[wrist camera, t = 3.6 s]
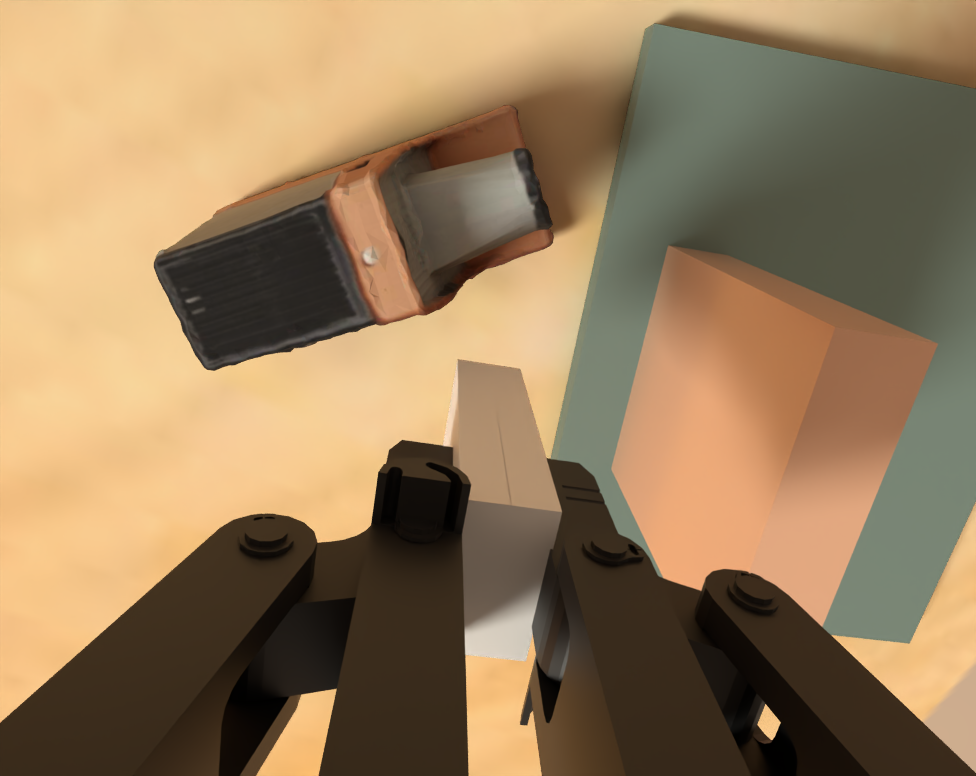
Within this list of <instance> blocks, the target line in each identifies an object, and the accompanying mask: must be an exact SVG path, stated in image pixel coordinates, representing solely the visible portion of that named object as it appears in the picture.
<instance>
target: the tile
mask: <svg viewBox="0 0 976 776" xmlns="http://www.w3.org/2000/svg"><path fill="white" fill-rule="evenodd" d="M937 345H938V343H936V342H933V341H931V340H928V339H926V338H924V337H921V336H919V335H917V334H914V333H912V332H909V331H907V330H905V329H902V328H900V327H898V326H895V325H893V324H890V323H888V322H886V321H883V320H881V319H879V318H876V317H874V316H871V315H869V314H867V313H864V312H862V311H859V310H857V309H855V308H852V307H850V306H848V305H845V304H843V303H840V302H838V301H836V300H833V299H831V298H829V297H826V296H824V295H821V294H819V293H817V292H814V291H812V290H810V289H807V288H805V287H802V286H800V285H798V284H795V283H793V282H791V281H788V280H786V279H783V278H781V277H779V276H776V275H774V274H771V273H769V272H767V271H764V270H762V269H760V268H757V267H755V266H752V265H750V264H748V263H745V262H743V261H741V260H738V259H736V258H733V257H731V256H729V255H724V254H718V253H712V252H706V251H700V250H694V249H688V248H682V247H676V246H670V245H668V248H667V252H666V256H665V260H664V264H663V268H662V272H661V276H660V280H659V283H658V287H657V291H656V295H655V299H654V303H653V307H652V311H651V315H650V319H649V323H648V327H647V330H646V334H645V338H644V342H643V346H642V350H641V354H640V358H639V362H638V366H637V370H636V373H635V377H634V381H633V385H632V389H631V393H630V397H629V401H628V405H627V409H626V413H625V417H624V420H623V424H622V428H621V432H620V436H619V440H618V444H617V448H616V452H615V456H614V460H613V464H612V467H611V470H612V472H613V474H614V476H615V478H616V480H617V482H618V484H619V486H620V489H621V491H622V493H623V495H624V497H625V499H626V501H627V503H628V505H629V507H630V509H631V512H632V514H633V516H634V518H635V520H636V522H637V524H638V526H639V528H640V530H641V532H642V535H643V537H644V539H645V541H646V543H647V545H648V547H649V549H650V551H651V553H652V555H653V558H654V560H655V562H656V564H657V566H658V568H659V570H660V572H661V574H662V576H663V578H664V579H667V580H670V581H672V582H675V583H679V584H682V585H685V586H688V587H691V588H694V589H697V590H700V591H701V590H702V587H703V584H704V581H705V578H706V577H707V576H708V575H709V574H710V573H711V572H712V571H716V570H721V569H732V570H743V571H747V572H749V573H754V574H756V575H759V576H761V577H762V578H763V579H765V580H767V581H769V582H771V583H773V584H775V585H776V586H777V587H779V588H780V589H781V590H783V591H784V592H785V593H787V594H788V595H789V596H790V597H791V598H792V599H793V600H794V601H795V602H797V603H798V604H799V605H800V606H801V607H802V608H803V609H804V610H805V611H806V612H807V613H808V614H809V615H810V616H811V617H812V618H813V619H814V620H815V621H816V622H818V623H819V624H820V625H821V626H822V627H823V624H824V622H825V619H826V617H827V614H828V612H829V609H830V607H831V604H832V602H833V600H834V597H835V595H836V592H837V590H838V587H839V585H840V582H841V580H842V578H843V575H844V573H845V570H846V568H847V565H848V563H849V560H850V558H851V556H852V553H853V551H854V548H855V546H856V543H857V541H858V538H859V536H860V534H861V531H862V529H863V526H864V524H865V521H866V519H867V516H868V514H869V512H870V509H871V507H872V504H873V502H874V499H875V497H876V494H877V492H878V490H879V487H880V485H881V482H882V480H883V477H884V475H885V472H886V470H887V468H888V465H889V463H890V460H891V458H892V455H893V453H894V450H895V448H896V446H897V443H898V441H899V438H900V436H901V433H902V431H903V428H904V426H905V423H906V421H907V419H908V416H909V414H910V411H911V409H912V406H913V404H914V401H915V399H916V397H917V394H918V392H919V389H920V387H921V384H922V382H923V379H924V377H925V375H926V372H927V370H928V367H929V365H930V362H931V360H932V357H933V355H934V353H935V350H936V348H937Z"/></svg>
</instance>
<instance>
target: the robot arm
mask: <svg viewBox="0 0 976 776" xmlns="http://www.w3.org/2000/svg"><path fill="white" fill-rule="evenodd" d="M532 634H533V638H534V644H535V651H536V657H535V661H534V665H533V669H532V673H531V677H530V681H529V685H528V689H527V693H526V697H525V701H524V705H523V709H522V714H521V721H520V725H527V724H528V720H529V716H530V713H531V712H532V711H533V713H534V721H535V728H536V735H537V743H538V750H539V757H540V765H541V772H542V776H976V773H975V772H974V771H973V770H972V769H971V768H970V767H969V766H968V765H967V764H966V763H965V762H964V761H962V760H961V759H960V758H959V757H958V756H957V755H956V754H955V753H954V752H953V751H952V750H951V749H950V748H949V747H948V746H947V745H946V744H945V743H943V741H942V740H940V739H939V738H938V737H937V736H936V735H935V734H934V733H933V732H932V731H931V730H930V729H929V728H928V727H927V726H926V725H925V724H924V723H923V722H922V721H921V720H920V719H918V718H917V717H916V716H915V715H914V714H913V713H912V712H911V711H910V710H909V709H908V708H907V707H906V706H905V705H904V704H903V703H902V702H901V701H900V700H898V699H897V698H896V697H895V696H894V695H893V694H892V693H891V692H890V691H889V690H888V689H887V688H886V687H885V686H884V685H883V684H882V683H881V682H880V681H879V680H877V679H876V678H875V677H874V676H873V675H872V674H871V673H870V672H869V671H868V670H867V669H866V668H865V667H864V666H863V665H862V664H861V663H860V662H859V661H857V660H856V659H855V658H854V657H853V656H852V655H851V654H850V653H849V652H848V651H847V650H846V649H845V648H844V647H843V646H842V645H841V644H840V643H839V642H838V641H836V640H835V639H834V638H833V637H832V636H831V635H830V634H829V633H828V632H827V631H826V630H825V629H824V628H823V627H822V626H821V625H820V624H819V623H818V622H816V621H815V620H814V619H813V618H812V617H811V616H810V615H809V614H808V613H807V612H806V611H805V610H804V609H803V608H802V607H801V606H800V605H799V604H798V603H797V602H795V601H794V600H793V599H792V598H791V597H790V596H789V595H788V594H787V593H785V592H784V591H783V590H781V589H780V588H779V587H777V586H776V585H775V584H773V583H771V582H769V581H767V580H765V579H763V578H762V577H761V576H759V575H756V574H754V573H749V572H747V571H743V570H732V569H721V570H716V571H712V572H711V573H710V574H709V575H708V576H707V577H706V578H705V581H704V584H703V587H702V590H701V591H700V590H697V589H694V588H691V587H688V586H685V585H682V584H679V583H675V582H672V581H670V580H667V579H664V578H662V577H659V576H658V575H657V572H656V570H655V568H654V566H653V564H652V562H651V560H650V557H649V556H648V555H647V554H646V552H645V551H644V550H643V548H642V547H640V546H639V545H638V544H636V543H635V542H633V541H632V540H631V539H629V538H627V537H624V536H622V535H620V534H618V532H617V529H616V527H615V524H614V522H613V520H612V517H611V515H610V513H609V510H608V508H607V505H605V501H604V498H603V496H602V494H601V493H600V489H599V486H598V484H597V482H596V479H595V477H594V476H593V475H592V474H591V473H590V472H589V471H588V470H587V469H585V468H584V467H583V466H582V465H581V464H580V463H576V462H569V461H562V460H555V459H548V458H546V455H545V452H544V448H543V445H542V442H541V438H540V435H539V431H538V428H537V425H536V421H535V418H534V414H533V411H532V408H531V404H530V401H529V397H528V394H527V390H526V387H525V384H524V380H523V377H522V373H521V370H520V369H518V368H511V367H505V366H498V365H492V364H485V363H479V362H472V361H466V360H459V359H458V360H457V366H456V372H455V378H454V383H453V389H452V395H451V401H450V407H449V413H448V419H447V425H446V431H445V437H444V443H443V446H441V445H434V444H427V443H420V442H412V441H405V440H402V441H400V442H399V443H398V444H396V445H395V446H394V447H393V448H391V449H390V450H389V453H388V458H387V463H386V464H384V465H383V466H382V468H381V469H380V471H379V472H378V479H377V487H376V494H375V501H374V509H373V516H372V523H371V526H370V527H369V528H368V529H367V530H366V531H364V532H363V533H361V534H359V535H357V536H355V537H352V538H348V539H345V540H340V541H333V542H322V543H317V539H316V536H315V533H314V531H313V530H312V529H311V528H310V527H308V526H307V525H306V524H305V523H304V522H301V521H299V520H296V519H294V518H291V517H289V516H282V515H276V514H255V515H249V516H246V517H242V518H238V519H235V520H233V521H231V522H229V523H228V524H226V525H224V526H223V527H221V528H219V529H218V530H217V531H216V532H215V533H214V534H213V535H212V536H210V537H209V538H208V539H207V540H206V541H205V542H204V543H203V544H201V545H200V546H199V547H198V548H197V549H196V550H195V551H194V552H192V553H191V554H190V555H189V556H188V557H187V558H186V559H184V560H183V561H182V562H181V563H180V564H179V565H178V566H177V567H175V568H174V569H173V570H172V571H171V572H170V573H169V574H168V575H166V576H165V577H164V578H163V579H162V580H161V581H160V582H159V583H157V584H156V585H155V586H154V587H153V588H152V589H151V590H150V591H148V592H147V593H146V594H145V595H144V596H143V597H142V598H141V599H139V600H138V601H137V602H136V603H135V604H134V605H133V606H131V607H130V608H129V609H128V610H127V611H126V612H125V613H124V614H122V615H121V616H120V617H119V618H118V619H117V620H116V621H115V622H113V623H112V624H111V625H110V626H109V627H108V628H107V629H106V630H104V631H103V632H102V633H101V634H100V635H99V636H98V637H97V638H95V639H94V640H93V641H92V642H91V643H90V644H89V645H87V646H86V647H85V648H84V649H83V650H82V651H81V652H80V653H78V654H77V655H76V656H75V657H74V658H73V659H72V660H71V661H69V662H68V663H67V664H66V665H65V666H64V667H63V668H62V669H60V670H59V671H58V672H57V673H56V674H55V675H54V676H53V677H51V678H50V679H49V680H48V681H47V682H46V683H45V684H43V685H42V686H41V687H40V688H39V689H38V690H37V691H36V692H34V693H33V694H32V695H31V696H30V697H29V698H28V699H27V700H25V701H24V702H23V703H22V704H21V705H20V706H19V707H18V708H16V709H15V710H14V711H13V712H12V713H11V714H10V715H9V716H7V717H6V718H5V719H4V720H3V721H2V722H1V723H0V776H256V775H257V773H258V771H259V770H260V768H261V766H262V765H263V763H264V761H265V760H266V758H267V756H268V755H269V753H270V751H271V750H272V748H273V746H274V745H275V743H276V742H277V740H278V738H279V737H280V735H281V733H282V732H283V730H284V728H285V727H286V725H287V723H288V722H289V720H290V718H291V717H292V715H293V713H294V712H295V710H296V708H297V706H298V703H299V700H300V697H301V694H307V693H313V692H319V691H325V690H331V689H337V691H336V695H335V700H334V705H333V710H332V715H331V719H330V724H329V729H328V734H327V738H326V743H325V748H324V753H323V758H322V762H321V767H320V772H319V776H468V738H467V701H466V664H465V655H472V656H482V657H491V658H500V659H510V660H519V661H526V659H527V655H528V651H529V647H530V642H531V638H532ZM765 704H766V705H767V706H768V707H769V708H770V710H771V711H772V712H773V713H774V715H775V716H776V717H777V718H778V719H779V721H780V722H781V724H780V726H779V728H778V731H777V733H776V736H775V737H774V739H773V740H770V739H769V738H768V737H767V736H766V735H765V734H764V733H763V732H762V730H761V729H760V728H759V726H758V725H757V724H758V721H759V719H760V716H761V714H762V711H763V709H764V706H765Z"/></svg>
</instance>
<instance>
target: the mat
mask: <svg viewBox="0 0 976 776" xmlns="http://www.w3.org/2000/svg"><path fill="white" fill-rule="evenodd" d="M668 245H670V246H676V247H682V248H688V249H694V250H700V251H706V252H712V253H718V254H724V255H729V256H731V257H733V258H736V259H738V260H741V261H743V262H745V263H748V264H750V265H752V266H755V267H757V268H760V269H762V270H764V271H767V272H769V273H771V274H774V275H776V276H779V277H781V278H783V279H786V280H788V281H791V282H793V283H795V284H798V285H800V286H802V287H805V288H807V289H810V290H812V291H814V292H817V293H819V294H821V295H824V296H826V297H829V298H831V299H833V300H836V301H838V302H840V303H843V304H845V305H848V306H850V307H852V308H855V309H857V310H859V311H862V312H864V313H867V314H869V315H871V316H874V317H876V318H879V319H881V320H883V321H886V322H888V323H890V324H893V325H895V326H898V327H900V328H902V329H905V330H907V331H909V332H912V333H914V334H917V335H919V336H921V337H924V338H926V339H928V340H931V341H933V342H936V343H938V345H937V348H936V350H935V353H934V355H933V357H932V360H931V362H930V365H929V367H928V370H927V372H926V375H925V377H924V379H923V382H922V384H921V387H920V389H919V392H918V394H917V397H916V399H915V401H914V404H913V406H912V409H911V411H910V414H909V416H908V419H907V421H906V423H905V426H904V428H903V431H902V433H901V436H900V438H899V441H898V443H897V446H896V448H895V450H894V453H893V455H892V458H891V460H890V463H889V465H888V468H887V470H886V472H885V475H884V477H883V480H882V482H881V485H880V487H879V490H878V492H877V494H876V497H875V499H874V502H873V504H872V507H871V509H870V512H869V514H868V516H867V519H866V521H865V524H864V526H863V529H862V531H861V534H860V536H859V538H858V541H857V543H856V546H855V548H854V551H853V553H852V556H851V558H850V560H849V563H848V565H847V568H846V570H845V573H844V575H843V578H842V580H841V582H840V585H839V587H838V590H837V592H836V595H835V597H834V600H833V602H832V604H831V607H830V609H829V612H828V614H827V617H826V619H825V622H824V624H823V628H824V629H825V630H826V631H827V632H828V633H829V634H830V635H837V636H846V637H855V638H864V639H873V640H883V641H892V642H901V643H910V641H911V639H912V637H913V635H914V633H915V631H916V628H917V626H918V624H919V622H920V620H921V618H922V616H923V613H924V611H925V609H926V607H927V605H928V603H929V601H930V598H931V596H932V594H933V592H934V590H935V588H936V586H937V583H938V581H939V579H940V577H941V575H942V573H943V571H944V568H945V566H946V564H947V562H948V560H949V558H950V556H951V553H952V551H953V549H954V547H955V545H956V543H957V541H958V538H959V536H960V534H961V532H962V530H963V528H964V526H965V523H966V521H967V519H968V517H969V515H970V513H971V511H972V508H973V506H974V504H975V502H976V89H975V88H970V87H965V86H960V85H955V84H950V83H945V82H941V81H936V80H931V79H926V78H921V77H916V76H911V75H906V74H901V73H896V72H891V71H886V70H881V69H876V68H872V67H867V66H862V65H857V64H852V63H847V62H842V61H837V60H832V59H827V58H822V57H817V56H812V55H808V54H803V53H798V52H793V51H788V50H783V49H778V48H773V47H768V46H763V45H758V44H753V43H748V42H743V41H739V40H734V39H729V38H724V37H719V36H714V35H709V34H704V33H699V32H694V31H689V30H684V29H679V28H674V27H670V26H665V25H660V24H653V25H651V26H650V27H648V28H646V29H645V33H644V38H643V42H642V47H641V51H640V56H639V60H638V65H637V69H636V74H635V78H634V83H633V88H632V92H631V97H630V101H629V106H628V110H627V115H626V119H625V124H624V128H623V133H622V137H621V142H620V146H619V151H618V156H617V160H616V165H615V169H614V174H613V178H612V183H611V187H610V192H609V196H608V201H607V205H606V210H605V214H604V219H603V224H602V228H601V233H600V237H599V242H598V246H597V251H596V255H595V260H594V264H593V269H592V273H591V278H590V282H589V287H588V292H587V296H586V301H585V305H584V310H583V314H582V319H581V323H580V328H579V332H578V337H577V341H576V346H575V350H574V355H573V360H572V364H571V369H570V373H569V378H568V382H567V387H566V391H565V396H564V400H563V405H562V409H561V414H560V418H559V423H558V427H557V432H556V437H555V441H554V446H553V450H552V455H551V459H555V460H562V461H569V462H576V463H580V464H581V465H582V466H583V467H584V468H585V469H587V470H588V471H589V472H590V473H591V474H592V475H593V476H594V477H595V479H596V482H597V484H598V486H599V489H600V493H601V494H602V496H603V498H604V501H605V505H607V508H608V510H609V513H610V515H611V517H612V520H613V522H614V524H615V527H616V529H617V532H618V534H620V535H622V536H624V537H627V538H629V539H631V540H632V541H633V542H635V543H636V544H638V545H639V546H640V547H642V548H643V550H644V551H645V552H646V554H647V555H648V556H649V557H650V560H651V562H652V564H653V566H654V568H655V570H656V572H657V575H658V576H659V577H662V578H663V576H662V574H661V572H660V570H659V568H658V566H657V564H656V562H655V560H654V558H653V555H652V553H651V551H650V549H649V547H648V545H647V543H646V541H645V539H644V537H643V535H642V532H641V530H640V528H639V526H638V524H637V522H636V520H635V518H634V516H633V514H632V512H631V509H630V507H629V505H628V503H627V501H626V499H625V497H624V495H623V493H622V491H621V489H620V486H619V484H618V482H617V480H616V478H615V476H614V474H613V472H612V470H611V467H612V464H613V460H614V456H615V452H616V448H617V444H618V440H619V436H620V432H621V428H622V424H623V420H624V417H625V413H626V409H627V405H628V401H629V397H630V393H631V389H632V385H633V381H634V377H635V373H636V370H637V366H638V362H639V358H640V354H641V350H642V346H643V342H644V338H645V334H646V330H647V327H648V323H649V319H650V315H651V311H652V307H653V303H654V299H655V295H656V291H657V287H658V283H659V280H660V276H661V272H662V268H663V264H664V260H665V256H666V252H667V248H668Z"/></svg>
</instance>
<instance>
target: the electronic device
mask: <svg viewBox="0 0 976 776" xmlns="http://www.w3.org/2000/svg"><path fill="white" fill-rule="evenodd" d="M552 225H553V224H552V221H551V218H550V216H549V210H548V206H547V205H546V203H545V201H544V200H543V198H542V193H541V188H540V184H539V180H538V178H537V177H536V175H535V172H534V170H533V160H532V155H531V153H530V152H529V150H528V149H526V147H525V144H524V140H523V137H522V133H521V129H520V125H519V121H518V110H517V109H516V108H515V107H513V106H509V105H504V106H502V107H500V108H498V109H495V110H493V111H491V112H488V113H485V114H483V115H480V116H477V117H475V118H472V119H469V120H466V121H464V122H461V123H458V124H456V125H452V126H449V127H447V128H445V129H442V130H439V131H435V132H432V133H430V134H427V135H425V136H422V137H419V138H416V139H413V140H410V141H407V142H404V143H401V144H398V145H396V146H393V147H390V148H387V149H384V150H382V151H379V152H376V153H373V154H369V155H364V156H362V157H360V158H358V159H356V160H354V161H351V162H348V163H345V164H343V165H340V166H337V167H334V168H331V169H328V170H325V171H321V172H319V173H317V174H314V175H311V176H308V177H306V178H303V179H300V180H297V181H294V182H286V183H285V184H284V185H283V186H280V187H278V188H275V189H272V190H269V191H266V192H263V193H261V194H258V195H255V196H252V197H250V198H247V199H244V200H241V201H238V202H235V203H233V204H231V205H228V206H226V207H224V208H222V209H220V210H218V211H217V212H216V213H215V214H214V215H213V218H212V219H210V220H209V221H207V222H205V223H203V224H202V225H201V226H200V227H198V228H197V229H195V230H194V231H192V232H191V233H190V234H188V235H187V236H185V237H184V238H183V239H181V240H180V241H179V242H177V243H176V244H175V245H173V246H171V247H169V248H168V249H166V250H161V251H159V252H158V254H157V255H156V259H155V261H154V269H155V272H156V274H157V277H158V279H159V281H160V283H161V285H162V287H163V289H164V291H165V292H166V294H167V296H168V298H169V301H170V303H171V305H172V307H173V309H174V311H175V313H176V315H177V316H178V318H179V320H180V322H181V326H182V330H183V332H184V334H185V336H186V337H187V339H188V341H189V342H190V344H191V347H192V349H193V351H194V353H195V355H196V357H197V358H198V359H199V360H200V362H201V363H202V365H203V366H204V368H206V369H207V370H213V371H215V370H217V369H220V368H222V367H225V366H229V365H236V364H239V363H241V362H243V361H246V360H249V359H253V358H257V357H261V356H264V355H268V354H274V353H280V352H291V351H292V350H293V349H294V348H303V347H307V346H310V345H313V344H315V343H316V342H318V341H322V340H327V339H331V338H333V337H335V336H339V335H342V334H345V333H348V332H357V331H359V330H360V329H362V328H365V327H368V326H371V325H374V324H377V325H380V326H381V325H386V324H388V323H391V322H396V321H401V320H404V319H407V318H410V317H413V316H415V315H428V314H430V313H432V312H434V311H436V310H439V309H441V308H443V307H444V306H445V305H447V304H448V303H449V302H450V301H452V300H453V298H454V297H455V296H456V294H457V292H458V290H459V289H460V288H461V287H462V286H463V284H464V283H465V282H466V280H468V279H473V278H474V277H475V276H476V275H478V274H479V273H481V272H482V271H484V270H486V269H488V268H492V267H496V266H498V265H502V264H505V263H507V262H509V261H511V260H514V259H516V258H519V257H521V256H525V255H527V254H530V253H533V252H537V251H540V250H543V249H545V248H547V247H549V246H550V245H551V244H552V243H553V238H554V235H553V233H552V232H551V231H550V230H549V228H550V227H551V226H552Z"/></svg>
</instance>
